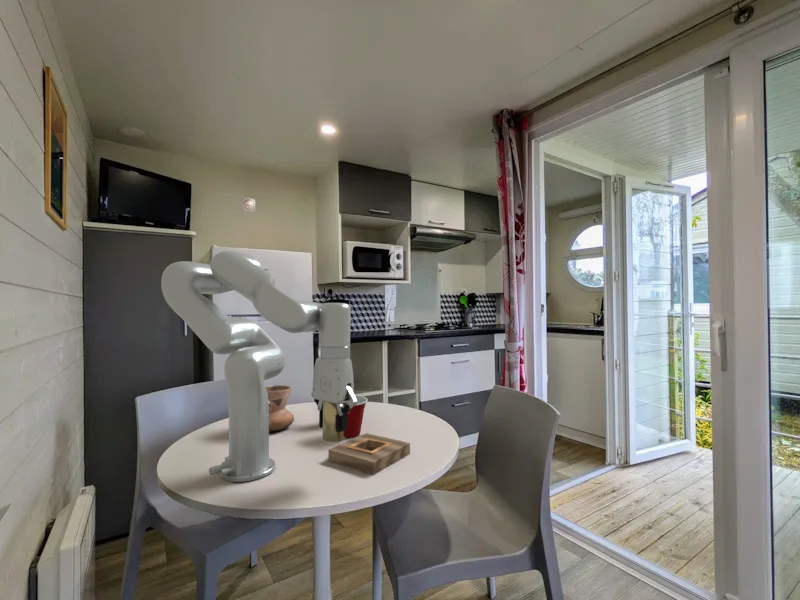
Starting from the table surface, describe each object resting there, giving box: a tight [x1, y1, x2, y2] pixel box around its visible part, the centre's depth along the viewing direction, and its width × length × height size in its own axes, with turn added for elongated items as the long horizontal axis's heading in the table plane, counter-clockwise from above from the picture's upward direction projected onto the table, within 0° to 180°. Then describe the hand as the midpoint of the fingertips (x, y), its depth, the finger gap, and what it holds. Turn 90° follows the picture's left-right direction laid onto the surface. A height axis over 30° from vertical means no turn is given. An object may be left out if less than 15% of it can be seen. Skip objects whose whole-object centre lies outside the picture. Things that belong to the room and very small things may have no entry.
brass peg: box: [321, 401, 344, 443], centre depth 90 cm, size 5×5×10 cm
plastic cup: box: [343, 394, 369, 439], centre depth 122 cm, size 11×11×12 cm
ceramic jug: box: [265, 384, 295, 433], centre depth 131 cm, size 18×14×14 cm
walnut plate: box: [327, 432, 411, 475], centre depth 103 cm, size 16×16×3 cm
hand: (333, 427), depth 90 cm, fingers closed on brass peg, 5 cm apart
